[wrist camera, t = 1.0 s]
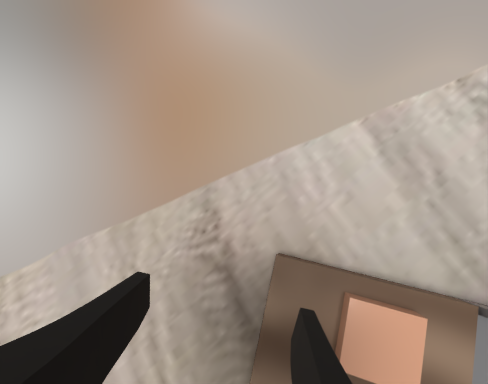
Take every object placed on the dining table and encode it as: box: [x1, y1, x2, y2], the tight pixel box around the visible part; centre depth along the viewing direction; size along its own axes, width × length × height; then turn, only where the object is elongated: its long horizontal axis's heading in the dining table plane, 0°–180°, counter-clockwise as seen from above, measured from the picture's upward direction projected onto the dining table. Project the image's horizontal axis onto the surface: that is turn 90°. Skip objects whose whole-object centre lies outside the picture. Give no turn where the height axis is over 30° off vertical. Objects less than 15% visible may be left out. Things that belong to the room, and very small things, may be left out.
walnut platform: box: [250, 253, 479, 384], centre depth 20 cm, size 15×15×3 cm
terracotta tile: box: [335, 292, 428, 384], centre depth 18 cm, size 5×5×2 cm
